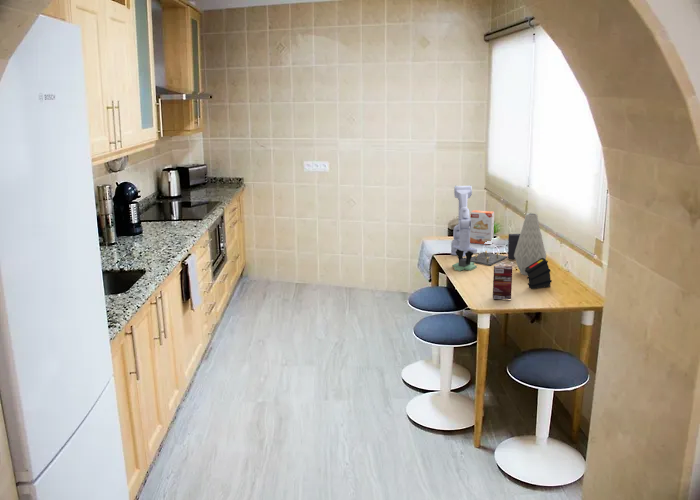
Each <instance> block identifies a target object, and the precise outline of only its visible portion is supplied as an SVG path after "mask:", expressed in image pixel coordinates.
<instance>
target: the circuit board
mask: <svg viewBox="0 0 700 500" xmlns="http://www.w3.org/2000/svg"><path fill="white" fill-rule="evenodd" d="M452 268H454V271H457V270H458V271H457V272H461V271H463V270H466V271H472V270H474V269H476V268H478V265H476V264H475V263H473V262H470V264H468V265H467V264H466V257H463V258H462V259H460V260H459V259H458V262H456V263H453V264H452Z"/></svg>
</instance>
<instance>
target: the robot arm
mask: <svg viewBox="0 0 700 500" xmlns="http://www.w3.org/2000/svg"><path fill="white" fill-rule="evenodd" d="M453 188H454V190H453V191H454V192H453V194H454V198H456V199H457V201H458V213H457V214H458V218H457V220H458V221H457V223H458V224H456V225H455V226H453V232H452V233H453V234H452V235H453V240H452V241H451V242H450V243H451V244H450V247H451V249H450V252H451V253H450V255H453V256H457V258H458V261H459V260H460V259H462V258H466V264H467V265H468V264H470V260H471V257H473V256H474V254H477V253H478V249H477V248H472V247H471V243H470V229H471V219H470V218H471V211H470V209H469V207H468V199H470V198H471V197H472V196H473V187H472V185H454V187H453Z"/></svg>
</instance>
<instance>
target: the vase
mask: <svg viewBox="0 0 700 500" xmlns="http://www.w3.org/2000/svg"><path fill="white" fill-rule="evenodd" d="M519 234H520V237H519V240H518V243H517V247H516V249H515V253H514V257H515V259H516V260H515V263H516V265H517V269H518V270H519V273H520V274H521V275H523V276H527V277H528V274H527V272H525V268H526V267H528V266H530V265H531V264H533V263H534V262H536V261H538V260H539V259H541V258H545V259H546V260H547V253H546V250H545V244H544V240H543V237H542V236H543V235H542V232H541V228H540V221H539V219H538V214H537V213H536V212H535V213H532V212H530V213H526V214H525V218H524V219H523V224H522V228H521V231H520V233H519Z"/></svg>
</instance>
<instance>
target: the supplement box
mask: <svg viewBox="0 0 700 500" xmlns="http://www.w3.org/2000/svg"><path fill="white" fill-rule="evenodd" d="M492 279H493V280H492V300H493V299H511V300H512V285H513V266H507V265H506V266H505V265H502V266H501V265H493V277H492Z"/></svg>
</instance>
